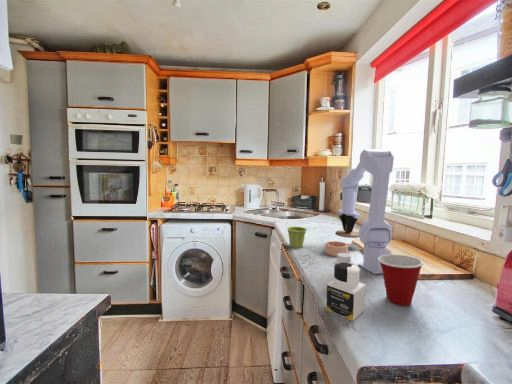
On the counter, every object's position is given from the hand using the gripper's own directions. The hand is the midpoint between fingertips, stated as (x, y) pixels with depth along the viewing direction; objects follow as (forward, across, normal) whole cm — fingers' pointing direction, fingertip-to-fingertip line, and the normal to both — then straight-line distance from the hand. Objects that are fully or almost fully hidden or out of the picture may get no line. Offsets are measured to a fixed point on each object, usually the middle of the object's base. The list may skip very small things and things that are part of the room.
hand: (347, 231), depth 116 cm
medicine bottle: (+8, -47, +32) cm, 57 cm away
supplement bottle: (+8, -35, +25) cm, 44 cm away
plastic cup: (+8, -46, +15) cm, 49 cm away
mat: (+8, 0, 0) cm, 8 cm away
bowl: (+8, -7, +10) cm, 15 cm away
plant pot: (+8, +8, +22) cm, 25 cm away
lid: (+2, 0, 0) cm, 2 cm away
